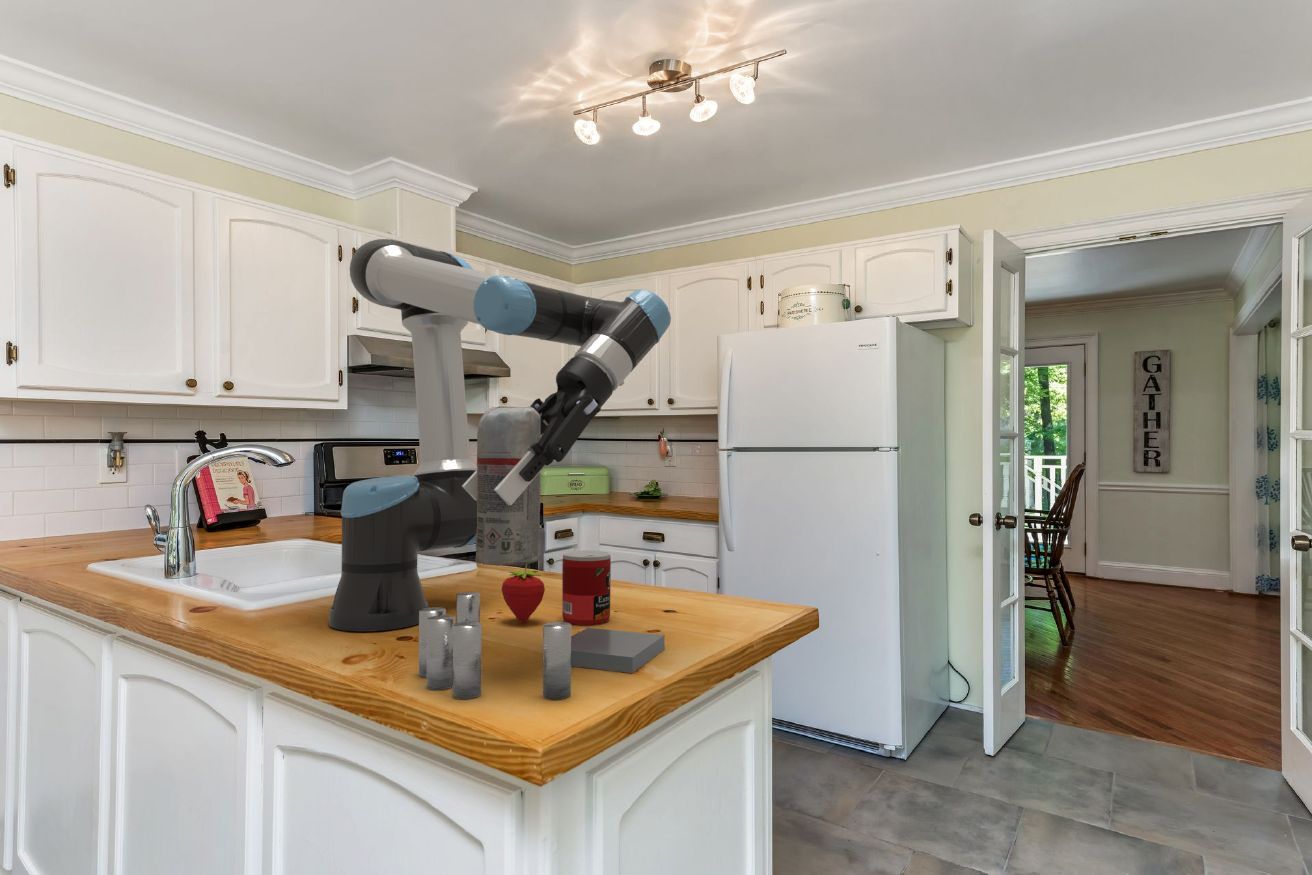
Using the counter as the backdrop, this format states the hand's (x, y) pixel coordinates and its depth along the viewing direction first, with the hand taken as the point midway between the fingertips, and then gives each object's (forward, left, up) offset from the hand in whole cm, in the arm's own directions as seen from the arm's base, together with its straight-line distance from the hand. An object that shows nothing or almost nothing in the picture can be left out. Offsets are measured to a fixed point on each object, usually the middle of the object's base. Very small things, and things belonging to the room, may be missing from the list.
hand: (485, 495), depth 93 cm
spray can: (+2, +3, -9) cm, 10 cm away
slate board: (+11, +14, -22) cm, 28 cm away
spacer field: (+2, +1, -22) cm, 23 cm away
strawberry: (-10, +27, -23) cm, 37 cm away
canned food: (-1, +32, -23) cm, 39 cm away
